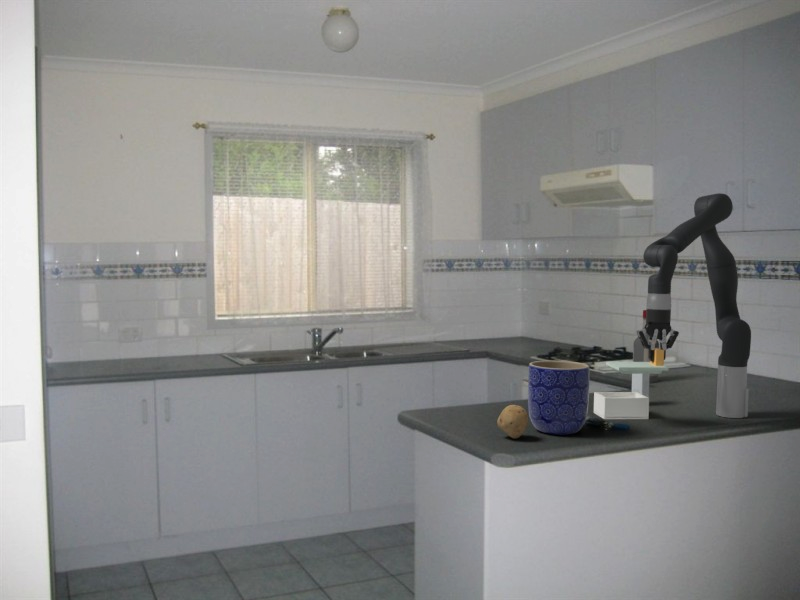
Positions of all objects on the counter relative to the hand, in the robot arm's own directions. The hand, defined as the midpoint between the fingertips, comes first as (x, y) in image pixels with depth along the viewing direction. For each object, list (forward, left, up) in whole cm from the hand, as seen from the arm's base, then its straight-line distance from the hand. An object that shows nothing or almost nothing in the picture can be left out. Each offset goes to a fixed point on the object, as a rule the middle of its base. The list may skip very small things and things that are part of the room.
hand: (656, 361), depth 271 cm
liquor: (-30, -83, -20) cm, 90 cm away
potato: (+50, +18, -20) cm, 57 cm away
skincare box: (-8, -32, -20) cm, 39 cm away
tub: (+6, -13, -20) cm, 25 cm away
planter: (+34, +9, -20) cm, 41 cm away
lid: (+7, 0, -3) cm, 7 cm away
